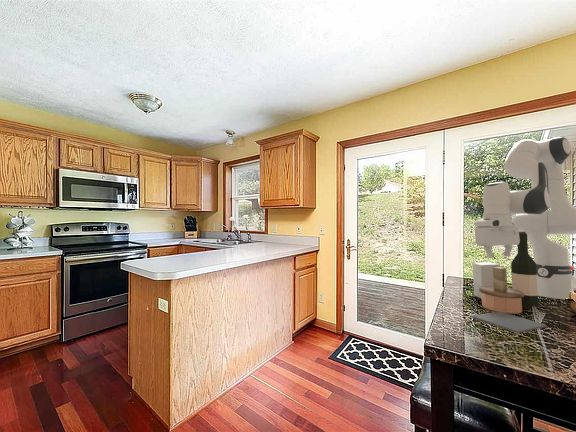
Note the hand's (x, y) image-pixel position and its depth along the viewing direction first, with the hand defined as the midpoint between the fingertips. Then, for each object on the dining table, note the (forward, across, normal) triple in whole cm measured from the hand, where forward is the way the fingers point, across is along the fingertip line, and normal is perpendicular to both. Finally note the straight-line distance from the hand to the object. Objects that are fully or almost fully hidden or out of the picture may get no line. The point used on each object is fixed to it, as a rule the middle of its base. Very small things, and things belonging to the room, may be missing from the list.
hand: (498, 256), depth 100 cm
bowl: (+20, 0, 0) cm, 20 cm away
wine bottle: (+20, -16, -1) cm, 26 cm away
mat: (+20, +13, +10) cm, 26 cm away
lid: (+14, 0, 0) cm, 14 cm away
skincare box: (+20, -10, -12) cm, 26 cm away
